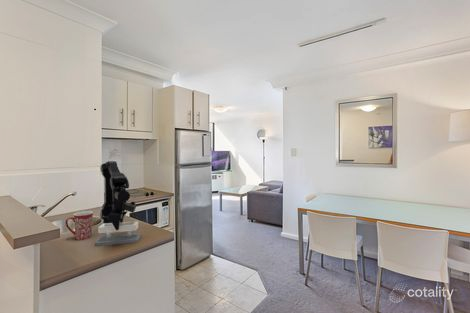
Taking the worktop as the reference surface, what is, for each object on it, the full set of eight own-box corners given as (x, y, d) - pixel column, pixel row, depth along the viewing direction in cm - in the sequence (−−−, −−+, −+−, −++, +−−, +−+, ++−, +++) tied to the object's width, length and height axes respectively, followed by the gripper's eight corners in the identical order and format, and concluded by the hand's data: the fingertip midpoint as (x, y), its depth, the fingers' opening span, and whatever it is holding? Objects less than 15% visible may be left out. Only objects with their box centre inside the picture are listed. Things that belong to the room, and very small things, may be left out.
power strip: (102, 229, 121) (102, 223, 121) (138, 226, 125) (138, 221, 125) (98, 233, 114) (98, 227, 114) (136, 230, 119) (136, 224, 119)
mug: (94, 233, 130) (94, 210, 130) (91, 239, 121) (91, 214, 121) (68, 236, 125) (68, 212, 125) (63, 242, 117) (62, 216, 116)
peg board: (101, 238, 122) (101, 228, 122) (140, 235, 127) (140, 225, 127) (94, 246, 112) (94, 235, 112) (137, 242, 117) (137, 231, 117)
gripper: (131, 202, 112) (131, 232, 112) (138, 194, 130) (138, 221, 131) (106, 203, 109) (107, 234, 110) (117, 195, 128) (117, 222, 128)
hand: (119, 227), depth 120 cm, fingers closed on power strip, 6 cm apart
